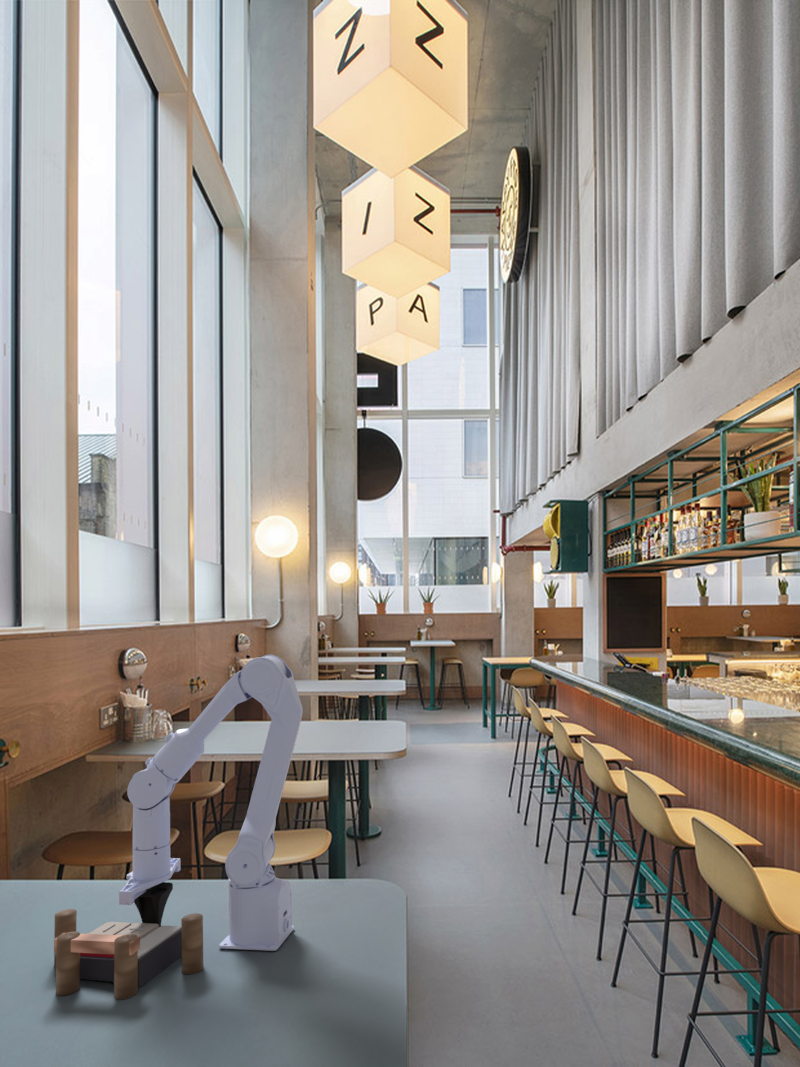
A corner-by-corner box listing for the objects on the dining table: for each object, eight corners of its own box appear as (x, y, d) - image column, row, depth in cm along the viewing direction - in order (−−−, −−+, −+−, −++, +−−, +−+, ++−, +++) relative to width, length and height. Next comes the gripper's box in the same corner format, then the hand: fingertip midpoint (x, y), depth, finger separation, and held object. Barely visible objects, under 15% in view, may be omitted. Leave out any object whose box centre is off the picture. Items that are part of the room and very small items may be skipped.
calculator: (107, 918, 111) (186, 921, 106) (108, 947, 110) (187, 951, 106) (53, 950, 101) (137, 955, 96) (53, 982, 100) (139, 988, 95)
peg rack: (207, 964, 101) (206, 913, 102) (170, 1002, 91) (169, 946, 92) (63, 956, 106) (63, 908, 107) (13, 992, 96) (14, 939, 97)
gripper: (153, 830, 118) (154, 914, 117) (101, 859, 104) (100, 955, 103) (191, 831, 117) (192, 916, 115) (143, 860, 103) (143, 958, 101)
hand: (151, 935), depth 109 cm, fingers closed
